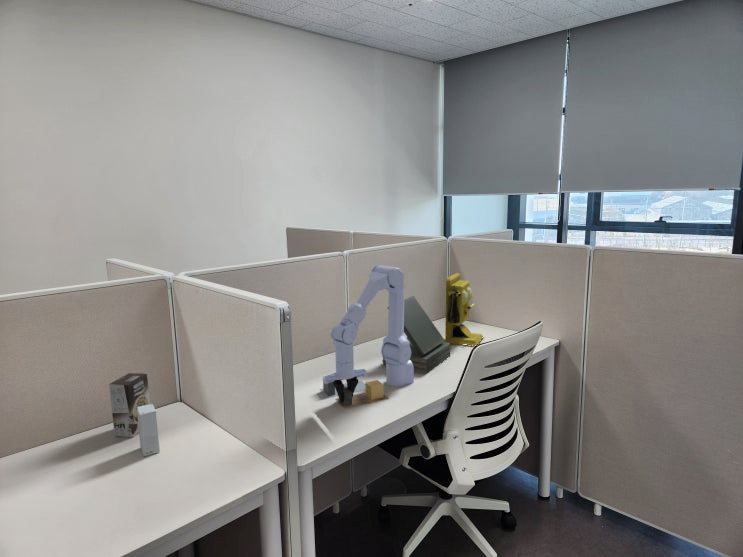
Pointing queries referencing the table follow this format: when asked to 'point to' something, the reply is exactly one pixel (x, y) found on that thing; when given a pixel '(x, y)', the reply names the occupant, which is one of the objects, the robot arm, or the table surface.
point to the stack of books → (423, 338)
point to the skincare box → (148, 429)
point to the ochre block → (374, 389)
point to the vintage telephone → (458, 312)
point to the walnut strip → (356, 399)
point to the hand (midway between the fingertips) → (345, 400)
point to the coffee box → (128, 402)
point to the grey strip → (331, 391)
